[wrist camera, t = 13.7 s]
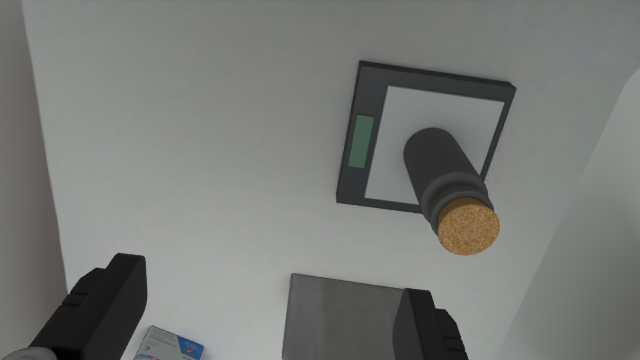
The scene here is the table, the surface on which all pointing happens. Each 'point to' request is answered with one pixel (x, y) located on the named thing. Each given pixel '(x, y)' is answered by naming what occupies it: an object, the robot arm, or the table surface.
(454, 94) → the scale
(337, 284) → the planter
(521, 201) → the table surface
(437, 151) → the bottle
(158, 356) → the ink box
